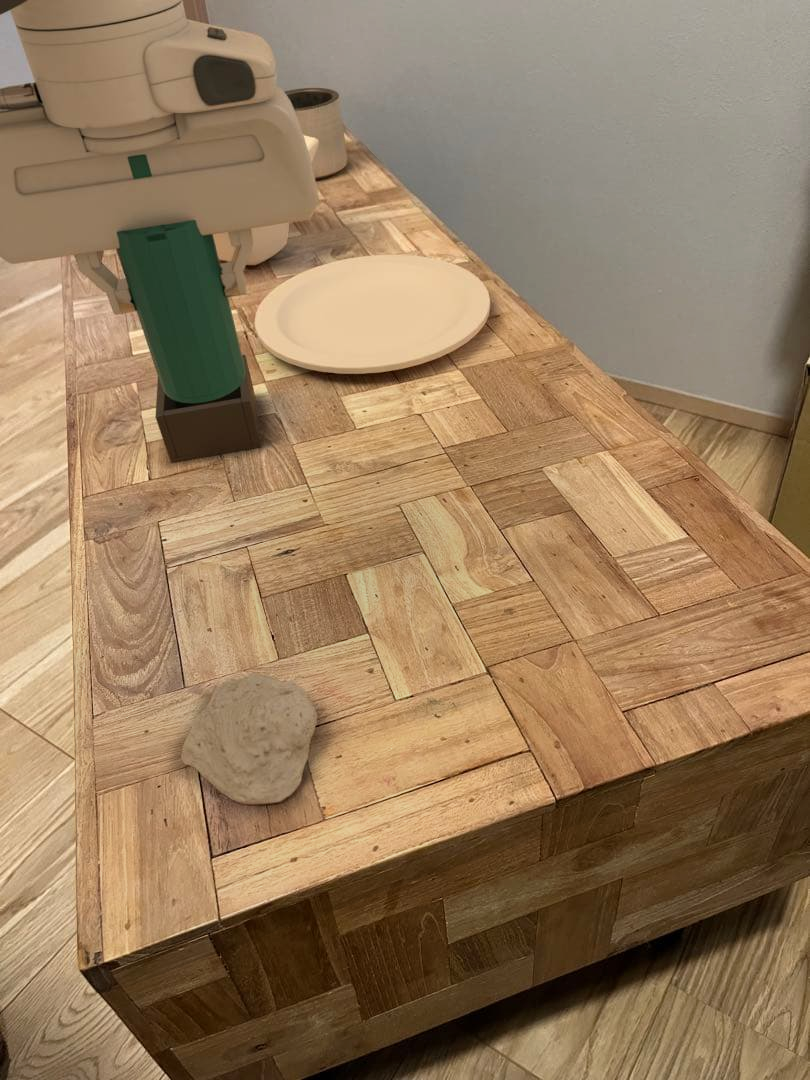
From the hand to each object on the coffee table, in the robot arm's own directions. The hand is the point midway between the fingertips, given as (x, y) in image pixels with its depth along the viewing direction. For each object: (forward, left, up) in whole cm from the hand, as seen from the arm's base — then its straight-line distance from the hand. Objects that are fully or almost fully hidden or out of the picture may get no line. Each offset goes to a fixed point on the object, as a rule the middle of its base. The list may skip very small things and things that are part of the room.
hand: (182, 301), depth 55 cm
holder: (-3, +20, -23) cm, 31 cm away
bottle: (0, 0, -6) cm, 6 cm away
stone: (-1, -20, -24) cm, 31 cm away
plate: (+17, +37, -24) cm, 47 cm away
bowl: (+3, +62, -24) cm, 66 cm away
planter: (+15, +94, -24) cm, 98 cm away
